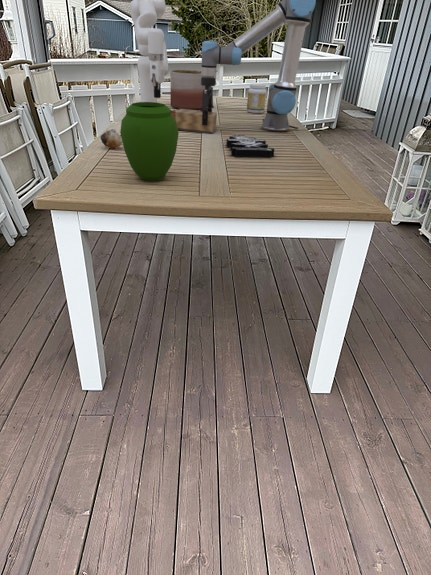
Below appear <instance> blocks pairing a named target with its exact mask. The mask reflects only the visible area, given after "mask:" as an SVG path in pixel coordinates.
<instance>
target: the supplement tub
mask: <svg viewBox="0 0 431 575" xmlns="http://www.w3.org/2000/svg"><path fill="white" fill-rule="evenodd" d="M266 87H267V86H266V84H264V83H250V84H249V88H248V90H247V102H246V111H247V112H248V113H250V114H251V113H252V114H263V113H265V112H266V111H265V110H266V101H267V100H266V99H267V89H266Z"/></svg>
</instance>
